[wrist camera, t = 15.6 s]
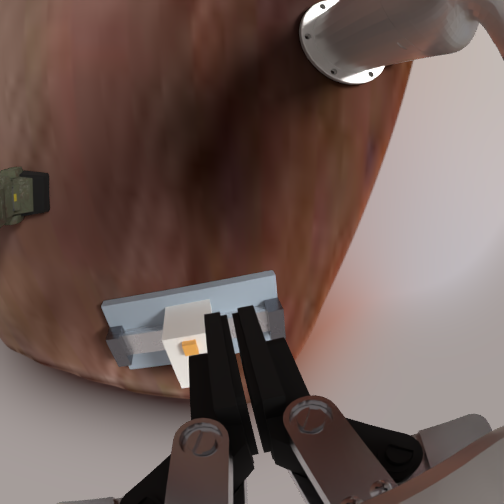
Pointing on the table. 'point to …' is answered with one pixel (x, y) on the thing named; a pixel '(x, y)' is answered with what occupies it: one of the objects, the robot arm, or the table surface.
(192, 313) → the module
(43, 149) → the table surface
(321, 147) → the table surface
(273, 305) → the rail
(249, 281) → the board
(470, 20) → the robot arm
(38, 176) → the green creature figurine
